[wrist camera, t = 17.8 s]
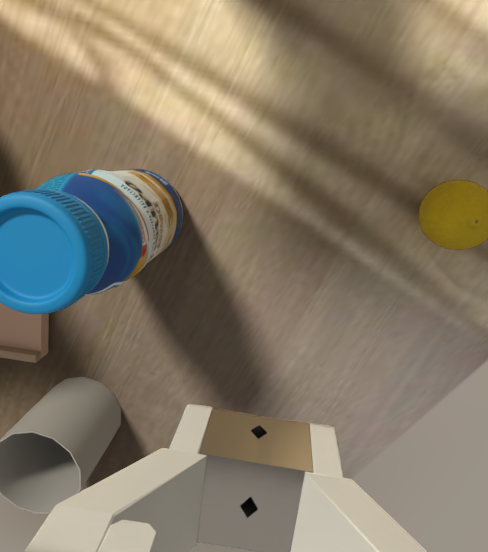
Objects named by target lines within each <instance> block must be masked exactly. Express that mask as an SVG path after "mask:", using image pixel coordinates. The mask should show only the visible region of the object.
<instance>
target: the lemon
mask: <svg viewBox="0 0 488 552" xmlns="http://www.w3.org/2000/svg"><path fill="white" fill-rule="evenodd" d="M419 224H420V226H421V228H422V231H423V232H424V234H425V235H426V236H427V237H428V239H430V240H431V241H432V242H434V243H435V244H436V245H439V246H441V247H444V248H446V249H454V250H461V249H469V248H472V247H475V246H478V245H479V244H481V243H482V242H484V241H485V240H486V239H487V238H488V191H487V190H486V189H485V188H483V187H481V186H480V185H478V184H476V183H474V182H469V181H465V180H452V181H448V182H444V183H442V184H440V185H438V186H436V187H434V188H433V189H432V190H431V191H430V192H428V193H427V195H426V196H425V197H424V199H423V200H422V203H421V205H420V208H419Z"/></svg>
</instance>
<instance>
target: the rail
mask: <svg viewBox="0 0 488 552" xmlns="http://www.w3.org/2000/svg"><path fill="white" fill-rule="evenodd" d="M48 337H49V313H47V314H27V313H22V312H19V311H16V310H13V309H11V308H9V307H7V306H5V305H3V304H2V303H0V357H1V358H7V359H13V360H20V361H26V362H32V363H36V362H38V361H39V360H40V359H41V358H42V357H44V356H45V355H46V354H47V353H48Z"/></svg>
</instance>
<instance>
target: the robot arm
mask: <svg viewBox="0 0 488 552" xmlns="http://www.w3.org/2000/svg"><path fill="white" fill-rule="evenodd" d="M196 543H204V544H211V545H218V546H224V547H231V548H238V549H245V550H249V551H254V552H427V551H426V550H425V549H424V548H423V547H422V546H421V545H420V544H419V543H418V542H417V541H415V539H413V538H412V537H411V536H410V535H409V534H408V533H407V532H406V531H405V530H404V529H403V528H402V527H401V526H400V525H399V524H398V523H397V522H396V521H395V520H394V519H393V518H391V516H389V515H388V514H387V513H386V512H385V511H384V510H383V509H382V508H381V507H380V506H379V505H378V504H377V503H376V502H375V501H374V500H373V499H372V498H371V497H370V496H369V495H368V494H366V493H365V492H364V491H363V490H362V489H361V488H360V487H359V486H358V485H357V484H356V483H355V482H354V481H353V480H352V479H347V478H344V474H343V468H342V463H341V458H340V453H339V447H338V442H337V437H336V432H335V428H334V427H333V426H331V425H322V424H314V423H306V422H299V421H291V420H284V419H277V418H269V417H262V416H259V415H254V414H248V413H242V412H237V411H231V410H226V409H220V408H215V407H214V408H212V407H211V406H204V405H197V404H188V405H187V406H186V409H185V411H184V414H183V416H182V418H181V421H180V423H179V426H178V428H177V431H176V433H175V436H174V438H173V441H172V443H171V446H170V448H169V449H166V448H161V449H159V450H157V451H155V452H154V453H152V454H150V455H148V456H146V457H144V458H142V459H141V460H139V461H137V462H135V463H133V464H131V465H129V466H128V467H126V468H124V469H122V470H120V471H118V472H116V473H114V474H113V475H111V476H109V477H107V478H105V479H103V480H101V481H100V482H98V483H96V484H94V485H92V486H90V487H88V488H87V489H85V490H83V491H81V492H79V493H77V494H75V495H74V496H72V497H70V498H68V499H66V500H64V501H62V502H60V503H59V504H57V505H55V507H54V508H53V510H52V511H51V513H50V514H49V516H48V517H47V519H46V520H45V522H44V523H43V525H42V526H41V528H40V529H39V531H38V532H37V534H36V535H35V537H34V538H33V540H32V541H31V543H30V544H29V545H28V547H27V548H26V550H25V551H24V552H190V551H191V550H192V549H193V548H194V547H195V546H196Z"/></svg>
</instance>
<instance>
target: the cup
mask: <svg viewBox="0 0 488 552" xmlns="http://www.w3.org/2000/svg"><path fill="white" fill-rule="evenodd" d="M120 425H121V407H120V405H119V403H118V401H117V399H116V397H115V395H114V393H112V392H111V391H110V390H109V389H108V388H107V387H105V386H104V385H103V384H102V383H101V382H98V381H95V380H92V379H89V378H86V377H75V378H66V379H65V380H63V381H62V382H60V383H59V384H57V385H56V386H54V387H53V388H52V389H51V390H50V391H49V392H48V393H47V394H46V395H45V396H44V397H43V398H42V399H41V400H40V401H39V402H38V403H37V404H36V405H35V406H34V407H33V408H32V409H31V410H30V411H29V412H28V413H27V414H26V415H24V416H23V417H22V418H21V419H20V420H19V421H18V422H17V423H16V424H15V425H14V426H13V427H12V428H11V429H10V430H9V431H8V432H7V433H6V434H5V435H4V436H3V437H2V438H1V439H0V494H1V495H2V496H3V497H4V498H6V499H7V500H8V501H10V502H11V503H12V504H13V505H14V506H16V507H17V508H20V509H23V510H26V511H29V512H33V513H35V514H46V513H51V511H52V510H53V508H54V507H55V505H57V504H59V503H60V502H62V501H64V500H66V499H68V498H70V497H72V496H74V495H75V494H77V493H79V492H80V491H81V489H82V487H83V486H84V484H85V483H86V481H87V479H88V478H89V476H90V474H91V473H92V471H93V470H94V468H95V466H96V465H97V463H98V462H99V460H100V458H101V457H102V455H103V453H104V452H105V450H106V449H107V447H108V445H109V444H110V442H111V440H112V439H113V437H114V436H115V434H116V432H117V430H118V428H119V427H120Z"/></svg>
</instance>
